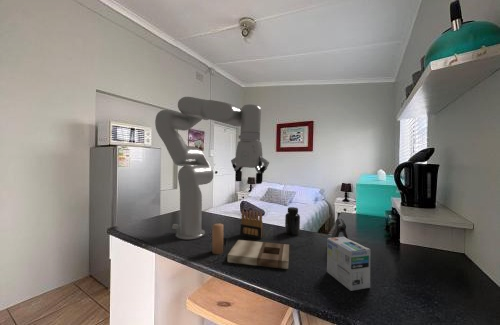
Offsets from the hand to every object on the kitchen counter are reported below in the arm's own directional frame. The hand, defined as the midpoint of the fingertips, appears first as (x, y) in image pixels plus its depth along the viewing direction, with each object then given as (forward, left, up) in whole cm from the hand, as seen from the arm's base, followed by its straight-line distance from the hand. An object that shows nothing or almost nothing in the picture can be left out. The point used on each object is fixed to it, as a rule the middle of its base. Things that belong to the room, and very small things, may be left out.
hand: (248, 182), depth 84 cm
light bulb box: (+33, -14, -26) cm, 44 cm away
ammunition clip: (-1, +14, -26) cm, 29 cm away
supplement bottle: (+17, +23, -26) cm, 38 cm away
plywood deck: (+6, -5, -26) cm, 27 cm away
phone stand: (+35, +6, -26) cm, 44 cm away
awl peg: (-10, -5, -26) cm, 28 cm away
